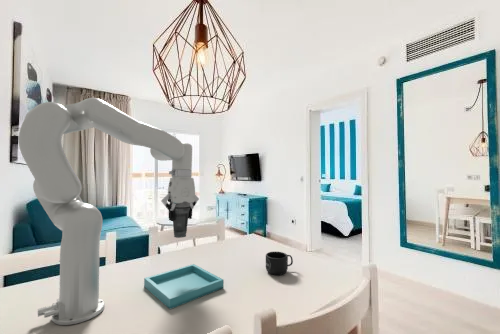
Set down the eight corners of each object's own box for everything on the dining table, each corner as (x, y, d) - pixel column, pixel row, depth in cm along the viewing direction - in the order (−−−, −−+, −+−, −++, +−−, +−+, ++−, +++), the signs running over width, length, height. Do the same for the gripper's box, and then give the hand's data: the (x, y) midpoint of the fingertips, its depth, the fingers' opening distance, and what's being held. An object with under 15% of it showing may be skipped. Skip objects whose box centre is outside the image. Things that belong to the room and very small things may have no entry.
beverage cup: (178, 239, 95) (179, 186, 95) (166, 236, 99) (167, 185, 99) (193, 236, 101) (194, 185, 101) (181, 233, 105) (182, 184, 105)
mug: (271, 278, 98) (271, 259, 98) (262, 269, 106) (262, 252, 106) (298, 274, 102) (298, 256, 102) (287, 266, 110) (287, 249, 111)
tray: (169, 309, 75) (170, 299, 75) (144, 286, 90) (144, 278, 90) (223, 288, 89) (223, 279, 89) (193, 271, 104) (193, 263, 104)
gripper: (165, 174, 92) (164, 223, 91) (205, 174, 104) (204, 218, 103) (156, 173, 97) (155, 220, 96) (195, 174, 109) (194, 215, 109)
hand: (180, 219), depth 100 cm, fingers closed on beverage cup, 6 cm apart
